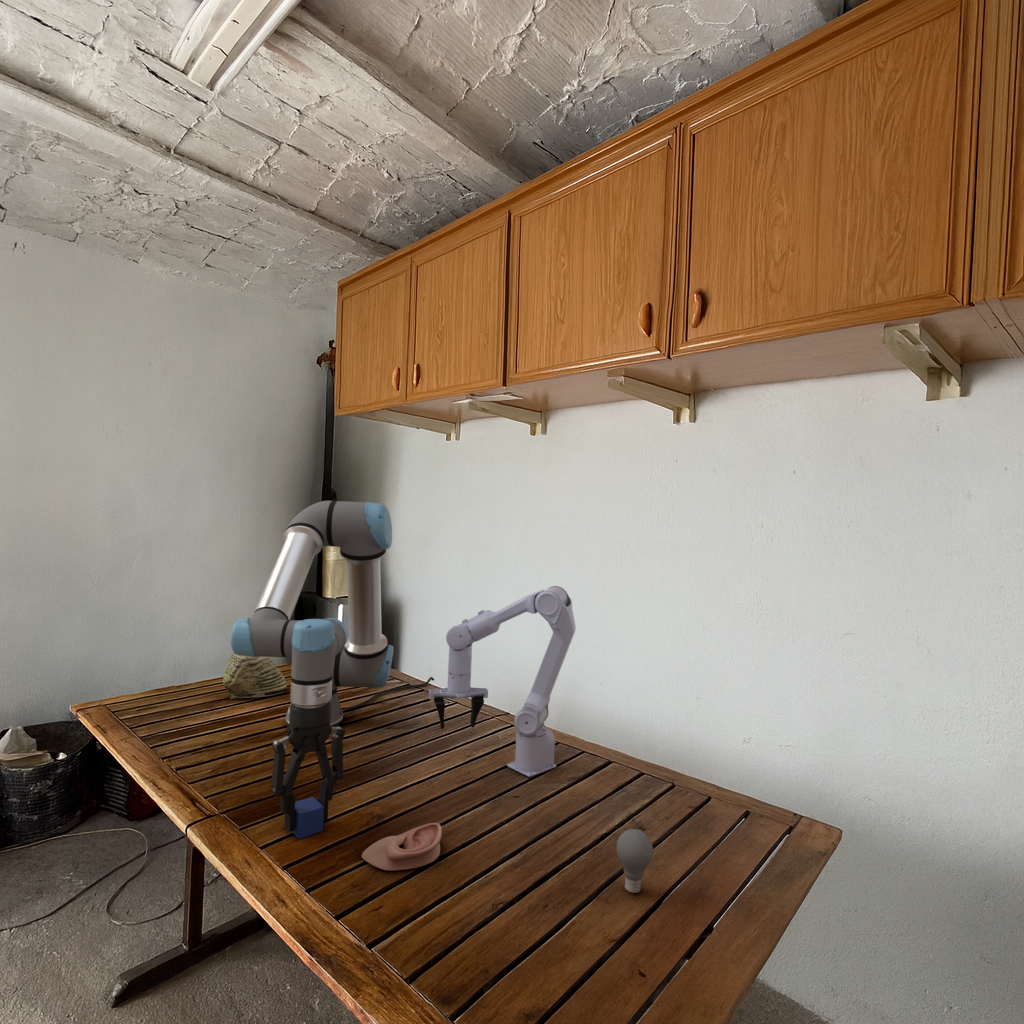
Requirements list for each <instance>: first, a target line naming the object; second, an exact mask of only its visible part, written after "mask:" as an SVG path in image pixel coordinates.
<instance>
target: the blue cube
mask: <svg viewBox="0 0 1024 1024" xmlns="http://www.w3.org/2000/svg"><path fill="white" fill-rule="evenodd" d="M323 820H324V806H323V805H322V804H320V803H319V800H317V799H316V798H315V797H314V796H311V797H308V798H304V799H301V800H297V801H295V819H294V831H292V834H293V835H294V836H296V838H297V839H303V838H306V837H308V836H311V835H315V834H318V833H321V832H324V821H323Z"/></svg>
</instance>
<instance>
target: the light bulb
mask: <svg viewBox="0 0 1024 1024" xmlns="http://www.w3.org/2000/svg"><path fill="white" fill-rule="evenodd" d="M615 849H616V854H617V857H618V859H619V861H620V863H621V865H622V867H623V873H624V874H623V875H624V876H625V878H624V888H625V890H627V891H628V892H630V893H634V894H635V893H639V892H640V891H641V889H642V887H641V886H642V879H643V877H644V875H645V871H646V868H647V867H648V866H649V864H650V863H651V861H652V859H653V855H654V847H653V843H652V841H651V838H649V836H648V835H647V834H646V833H645V832H643V831H642V830H641V829H636V828H629V829H627V830H625V831H623V832H622V833H621V834H620V835H619V837H618V839H617V841H616V847H615Z"/></svg>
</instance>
